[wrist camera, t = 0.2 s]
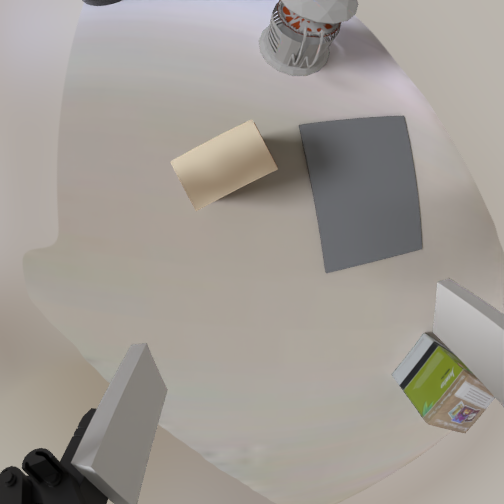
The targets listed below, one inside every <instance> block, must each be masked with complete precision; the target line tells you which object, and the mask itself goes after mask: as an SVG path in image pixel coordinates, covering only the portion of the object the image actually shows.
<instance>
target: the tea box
mask: <svg viewBox="0 0 504 504" xmlns="http://www.w3.org/2000/svg"><path fill="white" fill-rule="evenodd" d="M392 376H393V377H394V379H395V380H396V382H397V383H398V384H399V386H400V387H401V388H402V390H403V391H404V393H405V394H406V395H407V397H408V398H409V399H410V401H411V402H412V404H413V405H414V406H415V408H416V409H417V410H418V412H419V413H420V415H421V416H422V418H423V419H424V420H425V422H426V423H427V424H429V425H433V426H437V427H441V428H445V429H449V430H453V431H457V432H461V433H466V431H468V430H469V428H470V427H471V426H472V425H473V424H474V423H475V422H476V420H477V419H478V418H479V417H480V416H481V414H482V413H483V412H484V411H485V410H486V408H487V407H488V406H489V405H490V403H491V402H492V401H493V400H494V398H495V397H494V396H493V394H492V393H491V392H490V391H489V390H488V389H487V388H486V387H485V386H484V385H483V383H482V382H481V381H480V380H479V379H478V378H477V377H476V376H475V375H474V374H473V373H472V372H471V371H470V370H469V369H468V367H467V366H466V365H465V364H464V363H463V362H462V361H461V360H460V359H459V358H458V357H457V356H456V355H455V354H454V353H453V352H452V351H451V350H449V349H448V348H446V347H445V346H443V345H442V344H440V343H439V342H437V341H436V340H435V339H433V338H432V337H430V336H429V335H427V334H426V333H424V334H423V335H422V336H421V338H420V339H419V340H418V342H417V343H416V344H415V346H414V347H413V348H412V350H411V351H410V352H409V353H408V355H407V356H406V357H405V359H404V360H403V361H402V362H401V364H400V365H399V366H398V367H397V369H396V370H395V371H394V372H393V374H392Z"/></svg>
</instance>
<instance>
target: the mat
mask: <svg viewBox="0 0 504 504" xmlns="http://www.w3.org/2000/svg"><path fill="white" fill-rule="evenodd" d="M299 128H300V133H301V137H302V142H303V146H304V151H305V156H306V161H307V166H308V170H309V176H310V181H311V186H312V191H313V197H314V202H315V208H316V214H317V219H318V225H319V232H320V238H321V244H322V251H323V258H324V265H325V272H326V273H329V272H333V271H338V270H342V269H346V268H350V267H354V266H358V265H362V264H366V263H370V262H374V261H378V260H382V259H386V258H390V257H394V256H397V255H401V254H405V253H409V252H412V251H416V250H420V249H422V237H421V223H420V211H419V201H418V193H417V185H416V178H415V171H414V165H413V158H412V153H411V147H410V142H409V137H408V132H407V128H406V123H405V119H404V116H386V117H369V118H356V119H345V120H335V121H326V122H318V123H310V124H303V125H299Z"/></svg>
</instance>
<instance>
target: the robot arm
mask: <svg viewBox="0 0 504 504" xmlns="http://www.w3.org/2000/svg"><path fill="white" fill-rule="evenodd" d="M83 1H84V2H85V3H86V4H89V5H94V6H101V5H107V4H111V3H115V2H118V1H120V0H83ZM433 333H434V334H435V335H436V336H437V337H438V338H439V339H440V340H441V341H442V342H443V343H444V344H445V345H446V346H447V347H448V348H449V349H450V350H451V351H452V352H453V353H454V354H455V355H456V356H457V357H458V358H459V359H460V360H461V361H462V362H463V363H464V364H465V365H466V366H467V367H468V369H469V370H470V371H471V372H472V373H473V374H474V375H475V376H476V377H477V378H478V379H479V380H480V381H481V382H482V383H483V385H484V386H485V387H486V388H487V389H488V390H489V391H490V392H491V393H492V394H493V396H494V397H495V398H496V399H497V400H498V401H499V402H500V403H501V405H503V407H504V314H503V313H501V312H500V311H498V310H497V309H496V308H494V307H493V306H491V305H490V304H488V303H487V302H485V301H484V300H482V299H481V298H479V297H478V296H476V295H475V294H473V293H472V292H470V291H469V290H467V289H466V288H464V287H462V286H461V285H459V284H458V283H456V282H455V281H453V280H451V279H450V278H448V279H445V280H442V281H439V282H437V293H436V305H435V316H434V325H433ZM166 394H167V388H166V386H165V383H164V381H163V379H162V377H161V375H160V373H159V370H158V368H157V366H156V364H155V361H154V359H153V357H152V355H151V352H150V350H149V348H148V345H147V343H143V344H134V345H131V346H130V348H129V350H128V352H127V354H126V355H125V357H124V359H123V361H122V363H121V364H120V366H119V368H118V370H117V372H116V374H115V375H114V377H113V379H112V381H111V383H110V385H109V387H108V389H107V391H106V392H105V394H104V396H103V398H102V400H101V402H100V404H99V406H98V408H97V409H92V408H91V410H89V411H88V412H87V413H86V414H85V415H84V416H83V418H82V420H81V421H80V423H79V426H78V429H76V431H75V433H74V437H72V439H71V441H70V443H69V445H68V447H67V449H66V451H65V453H64V455H63V457H62V459H61V461H60V462H59V461H58V460H57V458H55V456H53V454H52V453H51V452H50V451H48V450H47V449H43V448H39V449H35V450H33V451H31V452H30V453H29V454H28V455H27V456H26V457H25V458H24V460H23V463H22V469H23V470H24V471H25V472H26V473H27V474H28V475H29V476H26V475H25V474H24V473H23V472H22V471H21V470H20V469H18V468H17V467H13V466H11V467H8V468H6V469H4V470H3V471H2V472H1V474H0V504H106V503H107V500H108V499H109V500H110V501H112V502H113V503H114V504H137V502H138V498H139V494H140V490H141V485H142V482H143V478H144V474H145V470H146V466H147V462H148V458H149V454H150V451H151V447H152V443H153V440H154V436H155V432H156V429H157V425H158V422H159V418H160V414H161V411H162V407H163V404H164V401H165V397H166Z"/></svg>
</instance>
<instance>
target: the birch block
mask: <svg viewBox="0 0 504 504" xmlns="http://www.w3.org/2000/svg"><path fill="white" fill-rule="evenodd" d="M171 164H172V166H173V168H174V170H175V172H176V174H177V176H178V178H179V180H180V182H181V184H182V185H183V187H184V189H185V191H186V193H187V195H188V197H189V199H190V201H191V203H192V204H193V206H194V208H195V210H196V211H197V210H199V209H201V208H203V207H205V206H207V205H209V204H210V203H212V202H214V201H216V200H218V199H220V198H222V197H224V196H226V195H228V194H230V193H231V192H233V191H235V190H237V189H239V188H241V187H243V186H245V185H247V184H249V183H251V182H253V181H255V180H257V179H259V178H261V177H263V176H265V175H267V174H269V173H271V172H273V171H276V170H278V167H277V165H276V163H275V161H274V159H273V157H272V155H271V153H270V151H269V149H268V147H267V146H266V144H265V142H264V140H263V138H262V136H261V134H260V132H259V130H258V128H257V127H256V125H255V123H254V122H253V120H252V119H251V120H249V121H247V122H245V123H243V124H241V125H239V126H237V127H235V128H233V129H231V130H228V131H226V132H224V133H222V134H220V135H219V136H217V137H215V138H213V139H211V140H209V141H207V142H205V143H203V144H201V145H199V146H197V147H196V148H194V149H192V150H190V151H188V152H186V153H185V154H183V155H181V156H179V157H178V158H176V159H174V160H172V161H171Z"/></svg>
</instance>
